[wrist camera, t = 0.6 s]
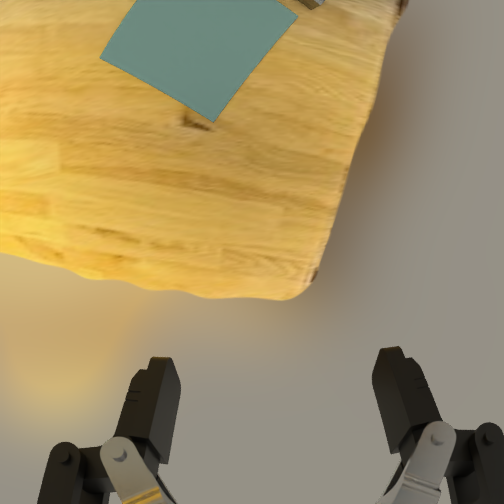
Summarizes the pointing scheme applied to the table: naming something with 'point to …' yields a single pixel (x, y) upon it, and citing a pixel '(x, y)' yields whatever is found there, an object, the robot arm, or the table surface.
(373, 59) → the table surface
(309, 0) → the collar block
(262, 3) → the rubber mat
